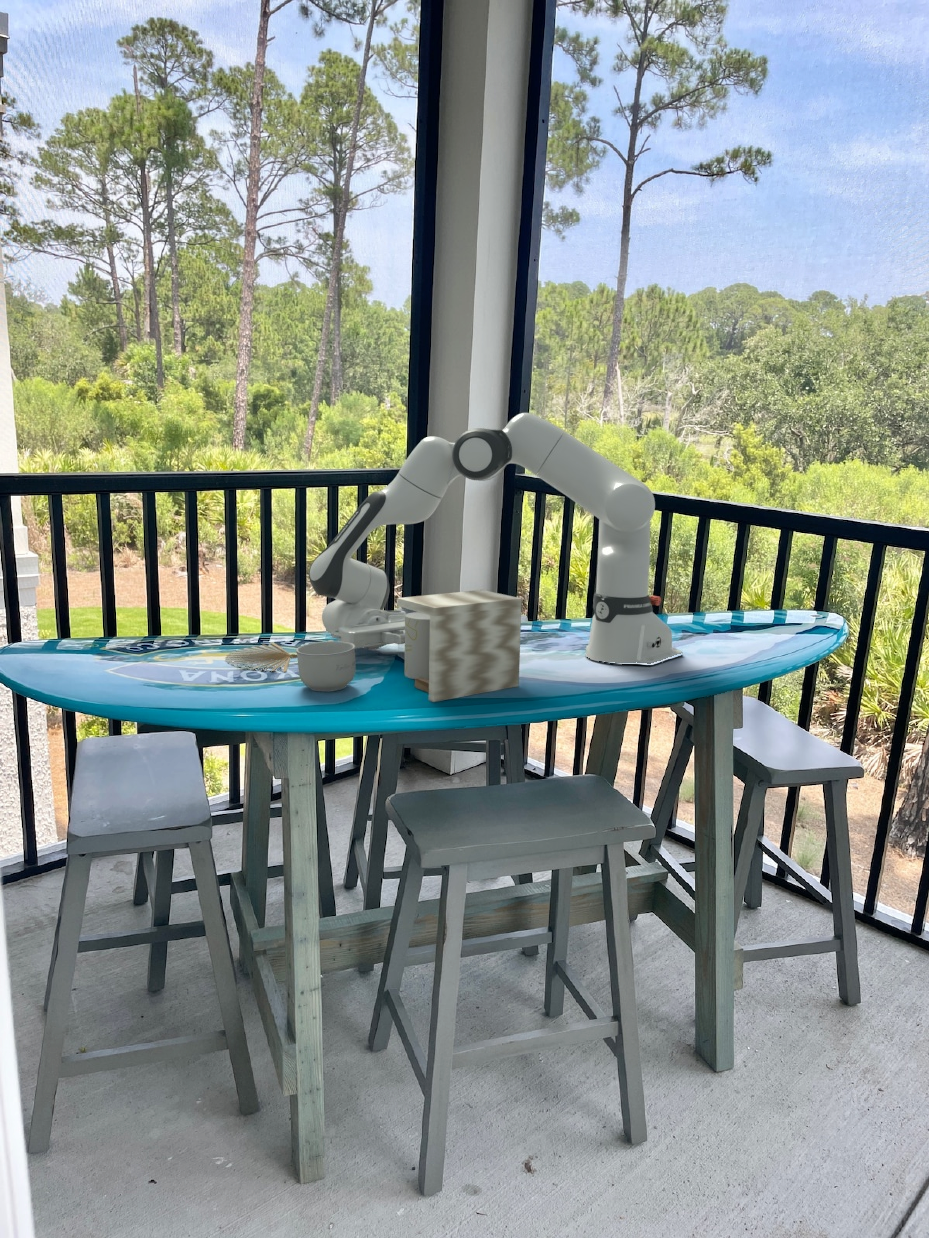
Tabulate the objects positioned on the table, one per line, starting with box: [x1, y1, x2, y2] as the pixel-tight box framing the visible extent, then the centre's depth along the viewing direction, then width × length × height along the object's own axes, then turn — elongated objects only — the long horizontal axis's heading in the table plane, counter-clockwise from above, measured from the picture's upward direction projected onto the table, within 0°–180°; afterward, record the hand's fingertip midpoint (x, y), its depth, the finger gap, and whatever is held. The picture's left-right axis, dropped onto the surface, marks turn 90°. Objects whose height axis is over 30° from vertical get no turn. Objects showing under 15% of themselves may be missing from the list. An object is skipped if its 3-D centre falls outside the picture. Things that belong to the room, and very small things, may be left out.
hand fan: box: [225, 642, 297, 673], centre depth 189 cm, size 26×1×15 cm
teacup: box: [295, 639, 356, 693], centre depth 168 cm, size 14×11×8 cm
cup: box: [404, 611, 430, 680], centre depth 177 cm, size 8×8×12 cm
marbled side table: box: [396, 589, 523, 703], centre depth 168 cm, size 20×12×17 cm, turn 127°
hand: (405, 639), depth 183 cm, fingers closed
